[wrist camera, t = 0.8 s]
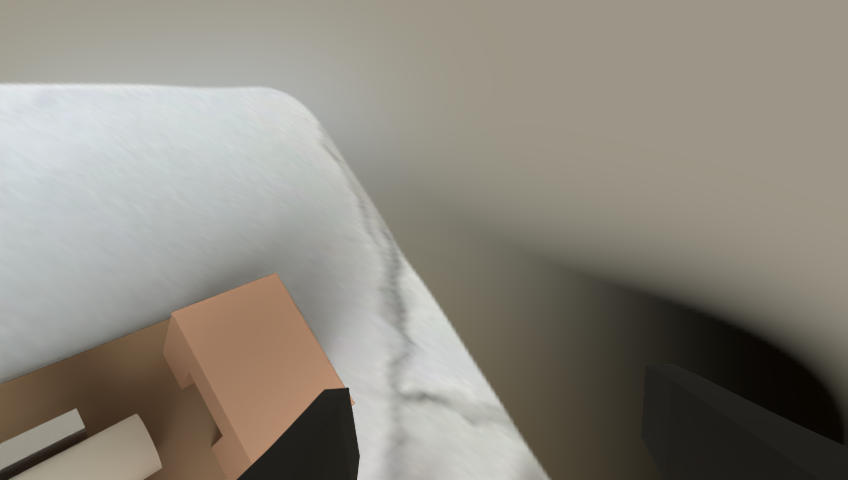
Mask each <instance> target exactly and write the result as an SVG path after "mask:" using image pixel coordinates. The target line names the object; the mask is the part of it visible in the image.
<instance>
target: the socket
mask: <svg viewBox="0 0 848 480" xmlns="http://www.w3.org/2000/svg"><path fill="white" fill-rule="evenodd" d="M163 355H164V357H165V359H166V361H167V363H168V365H169V366H170V368H171V370H172V372H173V374H174V376H175V378H176V380H177V382H178V384H179V386H180V388H181V390H182V389H184V388H186V387H188V386H190V385H192V384H194V383H195V384H196V386H197V388H198V390H199V391H200V393H201V395H202V397H203V399H204V401H205V403H206V405H207V407H208V409H209V411H210V413H211V414H212V416H213V418H214V420H215V422H216V424H217V426H218V428H219V430H220V432H221V434H222V435H223V436H222V437H221V438H220V439H219V440H218V441H217V442H216V443H215V444H214V445H213V446H212V447H211V448H212V450H213V452H214V454H215V456H216V458H217V460H218V462H219V464H220V466H221V468H222V470H223V472H224V474H225V475H226V477H227V479H228V480H237V479H238V478H239V477H240V476H241V475H242V474H243V473H244V472H245V471H246V470H247V469H248V468H249V467H250V466H251V465H252V464H253V463H254V462H255V461H256V460H257V459H258V458H259V457H260V456H261V455H262V454H264V453H265V452H266V451H267V450H268V449H269V448H270V447H271V446H272V445H273V443H274V442H275V441H276V440H277V439H278V438H279V437H280V436H281V435H282V434H283V433H284V432H285V431H286V430H287V429H288V428H289V427H290V426H291V425H292V423H293V422H294V421H295V420H296V419H297V418H298V417H299V416H300V415H301V414H302V413H303V412H304V410H305V409H306V408H307V407H308V406H309V405H310V404H311V403H312V402H313V401H314V400H315V399H316V397H317V396H318V395H319V394H320V393H321V392H322V391H323V390H324V389H336V388H345V386H344V385H343V383H342V381H341V380H340V378H339V376H338V375H337V373H336V371H335V370H334V368H333V366H332V365H331V363H330V361H329V360H328V358H327V356H326V355H325V353H324V351H323V350H322V348H321V346H320V345H319V343H318V341H317V340H316V338H315V336H314V335H313V333H312V331H311V330H310V328H309V326H308V325H307V323H306V321H305V320H304V318H303V316H302V315H301V313H300V311H299V310H298V308H297V306H296V305H295V303H294V301H293V300H292V298H291V296H290V295H289V293H288V291H287V290H286V288H285V286H284V285H283V283H282V281H281V280H280V278H279V276H278V275H277V273H274V274H271V275H268V276H266V277H263V278H260V279H258V280H255V281H253V282H250V283H247V284H245V285H242V286H239V287H237V288H234V289H232V290H229V291H226V292H224V293H221V294H219V295H216V296H213V297H211V298H208V299H205V300H203V301H200V302H198V303H195V304H192V305H190V306H187V307H184V308H182V309H179V310H177V311H174V312H172V314H171V318H170V323H169V327H168V331H167V336H166V340H165V345H164V349H163ZM350 399H351V405H353V404H355V403H354V401H353V400H352V398H351V396H350Z"/></svg>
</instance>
